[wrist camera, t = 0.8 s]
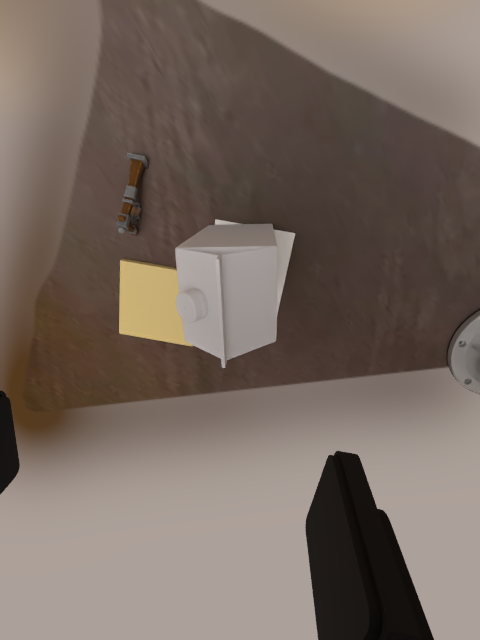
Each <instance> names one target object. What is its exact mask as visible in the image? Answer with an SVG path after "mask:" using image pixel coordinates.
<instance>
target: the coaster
mask: <svg viewBox="0 0 480 640" xmlns="http://www.w3.org/2000/svg"><path fill="white" fill-rule="evenodd" d="M178 294H179V285H178V276H177V268H174V267H169V266H163V265H157V264H152V263H146V262H140V261H135V260H129V259H122V260H120V313H119V333H120V334H125V335H131V336H137V337H142V338H148V339H153V340H159V341H165V342H170V343H176V344H182V345H187V346H193V345H192V344H190V343H188V342H186V341H185V338H184V332H183V323H182V318H181V317H180V315H179V313H178V311H177V306H176V298H177V295H178Z"/></svg>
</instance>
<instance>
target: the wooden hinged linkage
mask: <svg viewBox="0 0 480 640" xmlns="http://www.w3.org/2000/svg"><path fill="white" fill-rule="evenodd" d="M127 158H128V159H129V161H130V175H129V183H128V186H127V185H126V191H125V194H124V197H125V199H124V198H123V202H124V204H123V207H122V211H121V213H119V217H118V221H117V224H116V225H117V226H118V227H119V228H118V231H119V233H121V234H123V233H125V231H126V230H127V231H128V232H129V233H130V234H131V235H136V236H137V233H138V231H137V230H136V228H135V224H134V223H137V222H136V221H137V220H138V219H141V218H140V217H139V216H140V212H141V210H142V209H141V208H140V203H138V202H135V203H134V201H136V196H137V193H138V190H137V187H138V183H139V180H140V177H141V174H142V172H143V170H144V168H148V166H149V164H148V162H147V160H146V158H145V156H141V155H136V154H131V153H127ZM131 219H132V220H131ZM133 225H134V226H133Z"/></svg>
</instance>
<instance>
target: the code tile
mask: <svg viewBox="0 0 480 640" xmlns="http://www.w3.org/2000/svg"><path fill="white" fill-rule="evenodd" d="M233 224H240V223H234V222H228V221H222V220H217V219H215V225H233ZM274 234H275V239H276V243H277V248H278V271H277V313H278V309H279V304H280V300H281V295H282V291H283V287H284V282H285V278H286V273H287V269H288V264H289V260H290V255H291V251H292V246H293V242H294V237H295V233H291V232H285V231H279V230H274Z"/></svg>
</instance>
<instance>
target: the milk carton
mask: <svg viewBox="0 0 480 640" xmlns="http://www.w3.org/2000/svg"><path fill="white" fill-rule="evenodd" d="M175 255H176V266H177V276H178V285H179V294H178V295H177V298H176V306H177V311H178V313H179V315H180V317H181V318H182V323H183V332H184V338H185V341H186V342H188V343H190V344H192V345H194V346H196V347H198V348H200V349H202V350H204V351H206V352H208V353H210V354H212V355H214V356H216V357H218V358H220V359H221V364H222V368H225V365H226V361H227V360H229V359H231V358H234V357H236V356H239V355H242V354H244V353H247V352H249V351H252V350H255V349H257V348H260V347H262V346H265V345H268V344H270V343H273V342H275V341H276V333H277V271H278V248H277V243H276V239H275V234H274V229H273V225H272V224H233V225H209V226H207V227H206V228H204V229H203V230H201V231H200V232H198V233H197V234H195V235H194V236H192V237H191V238H189V239H188V240H186V241H185V242H183V243H182V244H180V245H179V246H178V247H176V249H175Z"/></svg>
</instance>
